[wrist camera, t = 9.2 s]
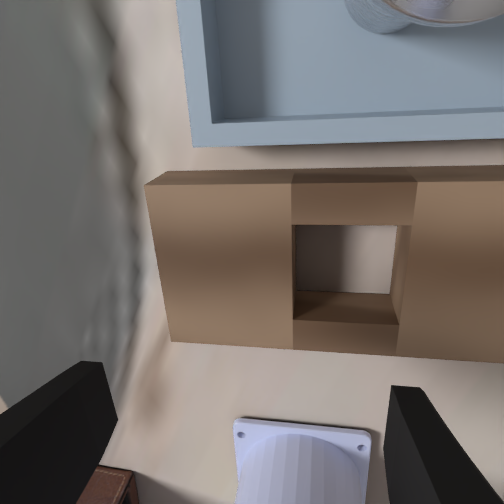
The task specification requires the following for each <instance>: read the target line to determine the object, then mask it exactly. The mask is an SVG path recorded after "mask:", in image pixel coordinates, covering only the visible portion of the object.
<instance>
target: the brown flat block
mask: <svg viewBox="0 0 504 504" xmlns="http://www.w3.org/2000/svg"><path fill="white" fill-rule="evenodd" d="M144 189H145V195H146V200H147V206H148V212H149V218H150V223H151V229H152V235H153V240H154V246H155V252H156V257H157V263H158V269H159V275H160V280H161V286H162V292H163V297H164V303H165V309H166V314H167V320H168V326H169V332H170V337H171V342H186V343H201V344H217V345H232V346H247V347H262V348H278V349H293V350H308V351H323V352H338V353H354V354H369V355H384V356H399V357H415V358H430V359H445V360H460V361H475V362H491V363H504V165H485V166H430V167H375V168H320V169H265V170H210V171H167V172H165V173H164V174H162V175H160V176H159V177H157V178H155V179H154V180H152V181H150V182H149V183H147V184H145V185H144ZM296 225H397V234H396V243H395V252H394V261H393V269H392V278H391V287H390V294H369V293H343V292H317V291H296Z"/></svg>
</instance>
